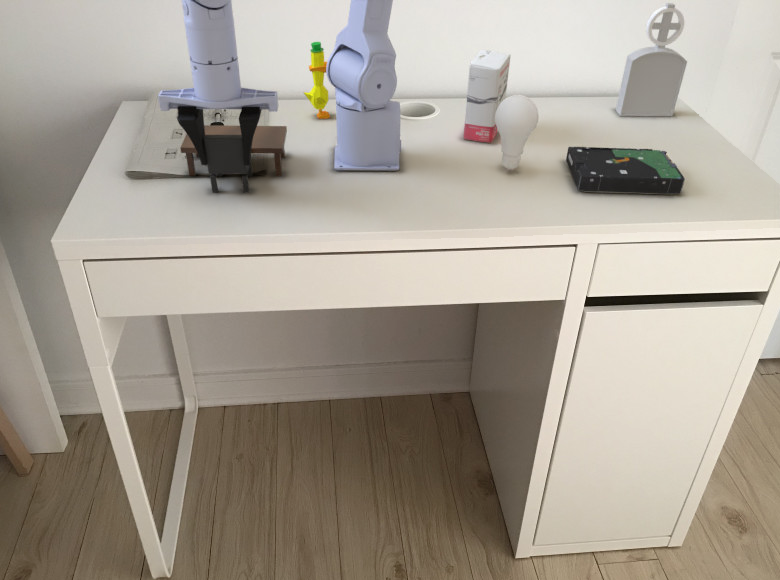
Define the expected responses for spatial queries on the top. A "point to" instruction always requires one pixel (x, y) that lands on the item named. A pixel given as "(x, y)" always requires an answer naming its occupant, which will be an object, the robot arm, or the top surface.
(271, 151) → the brown toy table
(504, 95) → the ink box
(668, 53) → the gravestone
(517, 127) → the lightbulb
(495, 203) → the top surface
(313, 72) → the toy figure
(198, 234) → the top surface
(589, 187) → the disk drive
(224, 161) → the chair
